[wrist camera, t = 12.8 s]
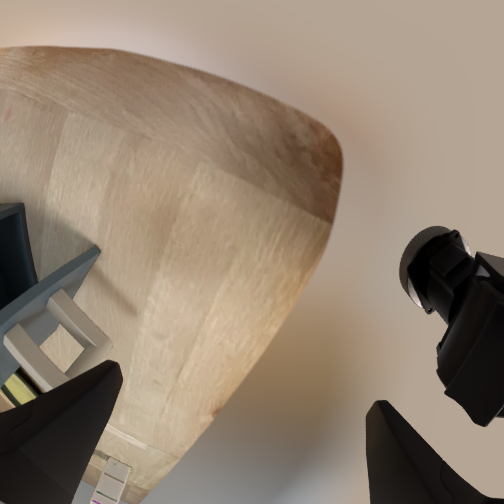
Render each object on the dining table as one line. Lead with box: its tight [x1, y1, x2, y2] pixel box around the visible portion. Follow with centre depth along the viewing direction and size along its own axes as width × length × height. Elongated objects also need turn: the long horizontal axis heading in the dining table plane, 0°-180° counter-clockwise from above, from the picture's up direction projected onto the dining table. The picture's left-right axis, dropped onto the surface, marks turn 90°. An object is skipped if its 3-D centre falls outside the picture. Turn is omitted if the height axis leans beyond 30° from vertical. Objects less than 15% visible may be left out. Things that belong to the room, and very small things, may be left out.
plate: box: [0, 371, 40, 407], centre depth 36 cm, size 28×28×2 cm
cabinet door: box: [0, 246, 113, 392], centre depth 18 cm, size 7×16×12 cm, turn 134°
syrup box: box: [90, 457, 131, 504], centre depth 35 cm, size 6×6×14 cm
